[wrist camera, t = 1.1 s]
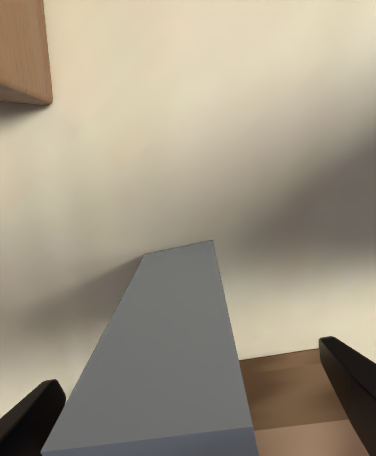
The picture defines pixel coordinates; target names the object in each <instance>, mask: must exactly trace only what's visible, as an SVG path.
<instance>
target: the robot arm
mask: <svg viewBox="0 0 376 456" xmlns="http://www.w3.org/2000/svg"><path fill="white" fill-rule="evenodd" d="M319 354H320V361H321V364H322V366H323V368H324V370H325V372H326V374H327V376H328V378H329V380H330V382H331V384H332V387H333V389H334V391H335V393H336V395H337V397H338V399H339V401H340V403H341V405H342V407H343V409H344V411H345V413H346V415H347V417H348V419H349V421H350V423H351V425H352V427H353V428H354V430H355V432H356V434H357V435H358V437H359V439H360V440H361V442H362V444H363V445H364V447H365V449H366V450H367V452H368V454H369V455H370V456H376V363H374V362H372V361H371V360H369V359H368V358H366V357H365V356H363V355H362V354H360V353H358V352H357V351H355V350H354V349H352V348H351V347H349V346H348V345H346V344H345V343H343V342H341V341H340V340H338V339H337V338H335V337H333V336H329V337H322V338H320V339H319ZM65 402H66V395H65V393H64V391H63V389H62V387H61V386H60V384H59V382H58V381H57V380H56V379H53V380H46V381H44V382H42V383H41V384H40V385H39V386H37V387H36V388H35V389H34V390H33V391H32V392H31V393H29V394H28V395H27V396H26V397H25V398H24V399H22V400H21V401H20V402H19V403H18V404H17V405H16V406H14V407H13V408H12V409H11V410H10V411H9V412H7V413H6V414H5V415H4V416H3V417H2V418H1V419H0V456H42V454H41V453H40V452H41V450H42V448H43V446H44V444H45V442H46V440H47V438H48V437H49V435H50V433H51V431H52V429H53V427H54V425H55V423H56V421H57V420H58V418H59V416H60V414H61V412H62V410H63V408H64V406H65Z"/></svg>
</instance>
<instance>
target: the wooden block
mask: <svg viewBox="0 0 376 456" xmlns="http://www.w3.org/2000/svg"><path fill="white" fill-rule="evenodd" d="M0 101H1V102H14V103H27V104H40V105H47V104H50V103H52V101H53V95H52V85H51V75H50V65H49V55H48V45H47V35H46V25H45V15H44V5H43V0H0Z"/></svg>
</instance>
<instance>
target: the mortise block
mask: <svg viewBox="0 0 376 456" xmlns="http://www.w3.org/2000/svg"><path fill="white" fill-rule="evenodd" d="M239 364H240V369H241V374H242V378H243V383H244V387H245V392H246V397H247V401H248V406H249V411H250V415H251V420H252V424H253V429H254V434H255V438H256V443H257V447H258V452H259V456H370V455H369V454H368V452H367V450H366V449H365V447H364V445H363V444H362V442H361V440H360V439H359V437H358V435H357V434H356V432H355V430H354V428H353V427H352V425H351V423H350V421H349V419H348V417H347V415H346V413H345V411H344V409H343V407H342V405H341V403H340V401H339V399H338V397H337V395H336V393H335V391H334V389H333V387H332V384H331V382H330V380H329V378H328V376H327V374H326V372H325V370H324V368H323V366H322V364H321V361H320V354H319V349H314V350H308V351H301V352H295V353H288V354H282V355H275V356H268V357H262V358H255V359H249V360H242V361H239Z"/></svg>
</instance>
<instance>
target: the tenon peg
mask: <svg viewBox="0 0 376 456" xmlns="http://www.w3.org/2000/svg"><path fill="white" fill-rule="evenodd" d="M40 453H41V454H42V456H259V452H258V447H257V443H256V438H255V434H254V429H253V424H252V420H251V415H250V411H249V406H248V401H247V397H246V392H245V387H244V383H243V378H242V374H241V369H240V364H239V360H238V355H237V351H236V346H235V341H234V337H233V332H232V328H231V323H230V318H229V314H228V309H227V304H226V300H225V295H224V291H223V286H222V281H221V277H220V272H219V268H218V263H217V259H216V254H215V249H214V245H213V240H210V241H205V242H200V243H196V244H191V245H186V246H181V247H177V248H172V249H167V250H162V251H158V252H153V253H148V254H145V255H144V257H143V259H142V261H141V262H140V264H139V266H138V268H137V270H136V272H135V274H134V276H133V278H132V280H131V281H130V283H129V285H128V287H127V289H126V291H125V293H124V295H123V297H122V298H121V300H120V302H119V304H118V306H117V308H116V310H115V312H114V314H113V315H112V317H111V319H110V321H109V323H108V325H107V327H106V329H105V331H104V333H103V334H102V336H101V338H100V340H99V342H98V344H97V346H96V348H95V350H94V351H93V353H92V355H91V357H90V359H89V361H88V363H87V365H86V367H85V368H84V370H83V372H82V374H81V376H80V378H79V380H78V382H77V384H76V385H75V387H74V389H73V391H72V393H71V395H70V397H69V399H68V401H67V403H66V404H65V406H64V408H63V410H62V412H61V414H60V416H59V418H58V420H57V421H56V423H55V425H54V427H53V429H52V431H51V433H50V435H49V437H48V438H47V440H46V442H45V444H44V446H43V448H42V450H41V452H40Z"/></svg>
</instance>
